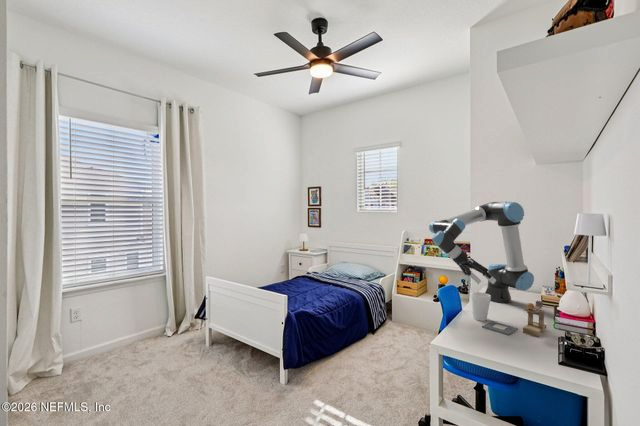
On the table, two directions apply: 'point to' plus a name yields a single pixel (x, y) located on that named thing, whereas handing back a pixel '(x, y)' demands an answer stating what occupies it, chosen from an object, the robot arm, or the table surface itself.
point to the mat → (500, 327)
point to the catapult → (535, 327)
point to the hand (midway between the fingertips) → (486, 282)
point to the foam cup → (480, 305)
